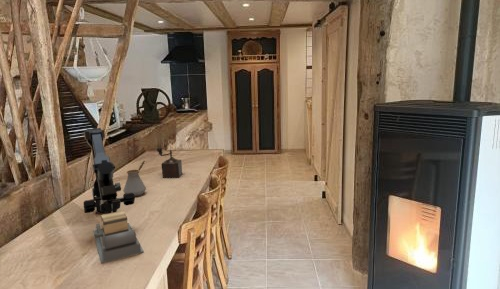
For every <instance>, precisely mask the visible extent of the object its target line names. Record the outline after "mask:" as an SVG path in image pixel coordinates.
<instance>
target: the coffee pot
mask: <svg viewBox="0 0 500 289" xmlns="http://www.w3.org/2000/svg"><path fill="white" fill-rule="evenodd" d="M147 163H148V162H147V161H146V160H143V161H142V162H141V164H140V165H139V167H138V168H137V169H130V170H128V171H126V174H127V178H126V182H125V184H124V187H123V194H125V193H131V192H132V193H134V195H135V198H136V197H140V196H142V195H143V194H144V193H145V191H146V190H147V187H146V186H145V184H144V182H143V180H142V178H141V176H140V175H139V173H140V170H141V169H142V168H143V166H144V165H145V164H147Z"/></svg>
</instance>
